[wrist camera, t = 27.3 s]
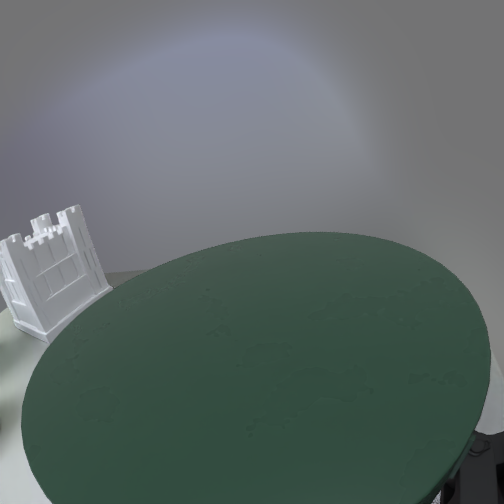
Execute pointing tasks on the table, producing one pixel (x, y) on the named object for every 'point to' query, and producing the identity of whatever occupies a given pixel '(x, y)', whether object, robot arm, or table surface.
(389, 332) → the lid
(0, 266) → the castle model
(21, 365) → the table surface
